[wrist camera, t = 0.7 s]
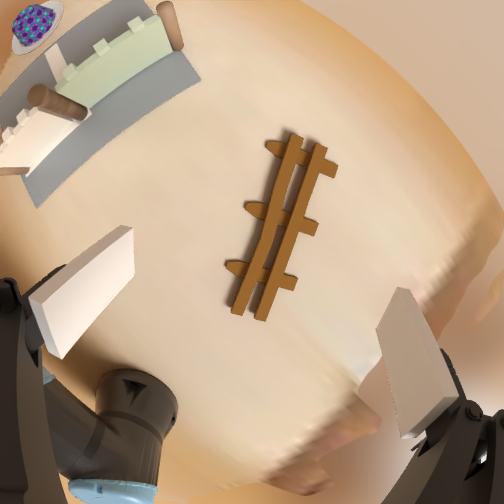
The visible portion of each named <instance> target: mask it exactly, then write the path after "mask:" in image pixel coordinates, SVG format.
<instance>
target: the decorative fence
mask: <svg viewBox="0 0 504 504" xmlns="http://www.w3.org/2000/svg"><path fill="white" fill-rule="evenodd" d="M303 140H304V138H303V137H300V136H298V135H295V134H293V133H292V134H291V135H290V138H289V141H288V144H285V143H282V142H268V143H267V146H266V148H267V149H268V150H269V151H270V152H272V153H273V154H274V155H275V156H278V157H281V158H283V159H282V162H281V165H280V168H279V171H278V174H277V177H276V180H275V183H274V186H273V190H272V193H271V197H270V201H269V205H265V204H262V203H247V204H246V207H245V210H247V211H248V212H249V213H250V214H252V215H253V216H254V217H257V218H260V219H263V220H264V224H263V228H262V231H261V235H260V239H259V241H258V244H257V246H256V249H255V251H254V254H253V256H252V259H251V261H250V264H248V263H245V262H241V261H228V262H227V265H226V269H228V270H229V271H231V272H232V273H233V274H235V275H237V276H241V277H244V278H243V281H242V283H241V286H240V288H239V291H238V293H237V296H236V298H235V301H234V303H233V306H232V308H231V313H232V314H236V315H240V316H242V315H243V313H244V311H245V308H246V306H247V303H248V301H249V299H250V296H251V294H252V292H253V289H254V287H255V284H256V282H257V281H259V282H262V283H266V284H265V287H264V290H263V292H262V295H261V298H260V301H259V303H258V306H257V309H256V311H255V314H254V319H256V320H260V321H266V319H267V316H268V314H269V311H270V308H271V306H272V303H273V301H274V298H275V295H276V293H277V290H278V287H280V288H284V289H288V290H291V291H293V290H294V288H295V285H296V283H297V280H298V278H297V277H293V276H290V275H286V274H284V271H285V269H286V266H287V263H288V260H289V258H290V255H291V252H292V249H293V246H294V244H295V241H296V238H297V235H298V232H302V233H305V234H308V235H311V236H314V235H315V232H316V230H317V227H318V224H319V223H316V222H314V221H311V220H308V219H305V218H303V217H304V214H305V211H306V208H307V205H308V202H309V199H310V197H311V194H312V191H313V188H314V186H315V183H316V180H317V177H318V175H319V173H322V174H324V175H327V176H329V177H331V178H335V175H336V171H337V168H338V165H336V164H334V163H332V162H330V161H327V160H325V159H324V158H325V155H326V152H327V149H328V148H327V147H324V146H322V145H320V144H317V143H316V144H314V147H313V150H312V153H308V152H306V151H303V150H301V146H302V143H303ZM296 163H297V164H299V165H302V166H305V167H307V168H306V171H305V174H304V177H303V180H302V182H301V185H300V188H299V191H298V194H297V197H296V200H295V203H294V205H293V208H292V211H291V213H288V212H285V211H282V207H283V203H284V199H285V195H286V192H287V188H288V185H289V182H290V179H291V176H292V173H293V170H294V167H295V164H296ZM277 225H281V226H284V227H286V228H285V231H284V234H283V236H282V239H281V242H280V245H279V248H278V250H277V253H276V256H275V259H274V262H273V265H272V267H271V270H269V269H265V268H263V265H264V263H265V260H266V258H267V255H268V253H269V251H270V248H271V246H272V243H273V240H274V236H275V232H276V229H277Z"/></svg>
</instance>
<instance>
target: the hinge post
mask: <svg viewBox="0 0 504 504" xmlns="http://www.w3.org/2000/svg"><path fill="white" fill-rule="evenodd" d="M27 101H28V103H29V105H31V106H33V107H38V106H39V107H42V108H45V109H47V110H50V111H53V112H56V113H59V114H62V115H64V116H67V117H70V118H73V119H75V120H78V121H81V120H83V119H85V118H86V116H87V114H88V109H87V107H85V106H83V105H81V104H79V103H77V102H75V101H73V100H71V99H69V98H67V97H65V96H63V95H61V94H59V93H57V92H55V91H52V90H50V89H48V88H47V86H46V85H44V84H36V85H34V86H33V87H32V88H31V89H30V90H29V92H28V94H27Z"/></svg>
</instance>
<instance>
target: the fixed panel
mask: <svg viewBox="0 0 504 504" xmlns="http://www.w3.org/2000/svg"><path fill="white" fill-rule="evenodd" d="M16 118H17V121H18V123H19V124H18V125H17V126H16V127H15V128H14V127H7V128H6V130H5V131H4V132H3V133H2V138H3V141H4V142H3V143H2V144H0V176H3V175H21V174H27V173H28V172H29V169H30V166H31V165H32V163H33V162H34V161H35V160H36V159H37V158H38V157H39V156H40V155H41V154H42V153H43V152H44V151H45V150H46V148H47V147H48V146H49V145H50V144H51V143H52V142H53V141H54V140H55V139H56V138H58V137H59V136H60V135H61V134H62V133H63V132H64V131H65V130H66V129H67V128H68V127H69V126H70V125H71V124H73V123H74V122H73V120H72V118H70V117H67V116H64V115H62V114H59V113H56V112H53V111H50V110H47V109H45V108H42V107H39V106H38V107H33V108H32V109H31V110H27V109H23V110H22V111H21V112H20V113H19V114H18V115H17V117H16Z"/></svg>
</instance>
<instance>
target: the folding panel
mask: <svg viewBox="0 0 504 504" xmlns="http://www.w3.org/2000/svg"><path fill="white" fill-rule="evenodd" d="M156 10H157V13H158V14H156V15H154V16H152V17H150V18H148V19H146V20H145V21H143V22H142V20H141V19H140V17H139V16H138V17H136V18H135V19H133V20H131V21H130V22H128V23H127V24H128V26H129V27H130V30H128V31H126V32H125V33H123V34H122V35H120V36H119V37H117V38H115V39H114V40H113V41H111V42H110V43H107V41H106V40H105V39H104V38H103V39H102V40H101V41H99V42H98V43H96V44H95V45H94V46H93V47H94V49H95V51H96V53H94V54H93V55H92V56H90V57H89V58H88V59H86V60H85V61H84V62H83V63H81V64H80V65H79V66H78V67H77V66H75V65H74V64H73V63H71V64H69V65H68V66H67V67H66V68H65V69H64V70H62V73H63V75H64V77H65V78H63V79H62V80H61V81H60V82H59V83H58V84H57V85H56V86H55V89H56V92H57V93H59V94H61V95H63V96H65V97H68V98H70V99H72V100H74V101H76V102H78V103H80V104H82V105H84V106H86V107H88V108H91V107H92V106H94V105H95V104H96V103H97V102H99V101H100V100H101V99H102V98H104V97H105V96H106V95H108V94H109V93H110V92H112V91H113V90H114V89H116V88H117V87H118V86H120V85H121V84H123V83H124V82H125V81H127V80H128V79H130V78H131V77H133V76H134V75H136V74H137V73H139V72H140V71H142V70H143V69H145V68H146V67H148V66H150V65H151V64H153V63H154V62H156V61H158V60H159V59H161V58H163V57H165V56H166V55H168V54H170V53H171V52H173V51H180V50H181V49H182V48H183V47H184V44H183V40H182V36H181V32H180V28H179V25H178V21H177V17H176V13H175V9H174V6H173V3H172V2H170V1H164V2H161V3H159V4H158V5H157V7H156Z"/></svg>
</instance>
